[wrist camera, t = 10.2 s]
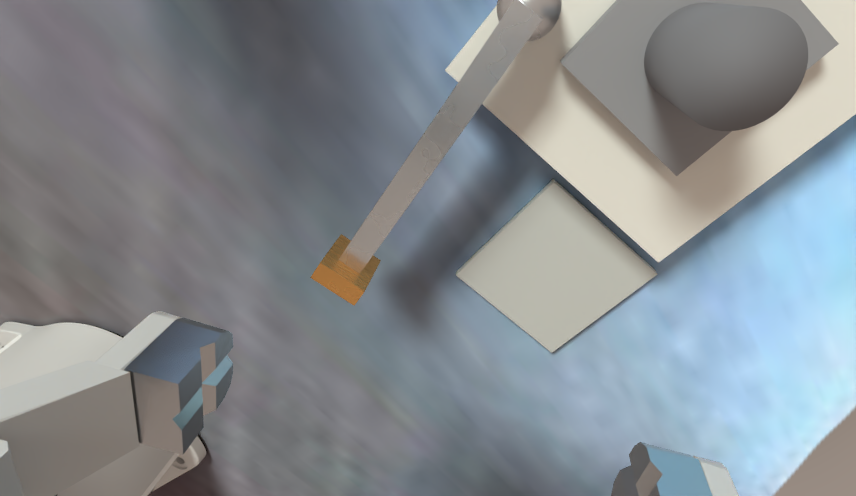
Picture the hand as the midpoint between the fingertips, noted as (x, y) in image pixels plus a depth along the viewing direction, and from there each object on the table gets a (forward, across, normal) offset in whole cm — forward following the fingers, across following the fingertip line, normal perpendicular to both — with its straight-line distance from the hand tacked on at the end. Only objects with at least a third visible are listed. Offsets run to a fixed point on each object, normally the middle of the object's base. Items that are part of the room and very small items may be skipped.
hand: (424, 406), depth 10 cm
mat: (+19, -6, +6) cm, 21 cm away
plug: (+19, -7, -6) cm, 21 cm away
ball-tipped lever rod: (+16, +2, -1) cm, 16 cm away
